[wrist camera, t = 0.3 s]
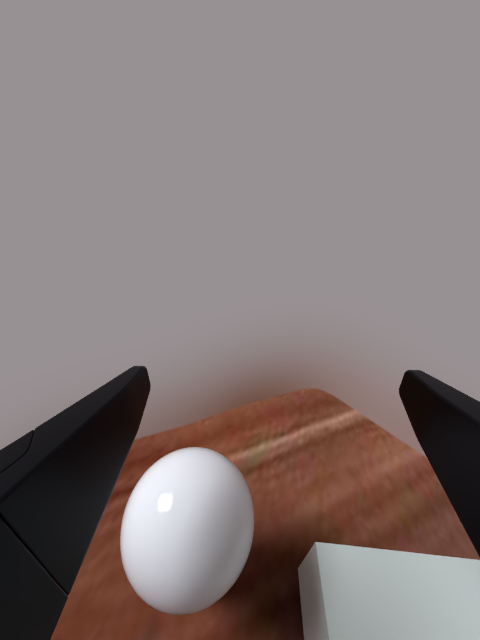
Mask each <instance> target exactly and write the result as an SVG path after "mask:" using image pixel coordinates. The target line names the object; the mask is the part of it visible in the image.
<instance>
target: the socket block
mask: <svg viewBox="0 0 480 640" xmlns="http://www.w3.org/2000/svg"><path fill="white" fill-rule="evenodd" d="M298 576H299V587H300V598H301V610H302V621H303V632H304V640H480V560H473V559H464V558H455V557H446V556H437V555H428V554H420V553H411V552H402V551H393V550H384V549H375V548H366V547H357V546H348V545H339V544H330V543H321V542H315V543H314V545H313V546H312V548H311V549H310V551H309V552H308V554H307V555H306V557H305V558H304V560H303V561H302V563H301V565H300V566H299V568H298Z"/></svg>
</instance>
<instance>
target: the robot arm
mask: <svg viewBox="0 0 480 640" xmlns="http://www.w3.org/2000/svg"><path fill="white" fill-rule="evenodd" d="M149 392H150V380H149V376H148V372H147V369H146V367H145V366H133V367H132V368H130V369H128V370H127V371H125V372H124V373H122V374H120V375H119V376H117V377H116V378H114V379H113V380H111V381H109V382H108V383H106V384H105V385H103V386H101V387H100V388H99V389H97V390H95V391H94V392H92V393H90V394H89V395H87V396H86V397H84V398H83V399H81V400H80V401H78V402H76V403H75V404H73V405H71V406H70V407H68V408H67V409H65V410H64V411H62V412H60V413H59V414H57V415H56V416H54V417H53V418H51V419H49V420H48V421H46V422H45V423H43V424H41V425H40V426H38V427H37V428H36V429H35V431H34V430H32V431H30V432H29V433H27V434H26V435H24V436H22V437H21V438H19V439H18V440H16V441H14V442H13V443H11V444H10V445H8V446H6V447H5V448H3V449H1V450H0V640H50V639H51V636H52V634H53V632H54V629H55V627H56V625H57V622H58V620H59V617H60V615H61V613H62V610H63V608H64V606H65V603H66V601H67V598H68V596H67V595H69V593H70V591H71V588H72V586H73V584H74V581H75V579H76V577H77V574H78V572H79V569H80V567H81V565H82V562H83V560H84V558H85V555H86V553H87V550H88V548H89V546H90V543H91V541H92V539H93V536H94V534H95V531H96V529H97V527H98V524H99V522H100V520H101V517H102V515H103V512H104V510H105V508H106V505H107V503H108V501H109V498H110V496H111V493H112V491H113V489H114V486H115V484H116V481H117V479H118V477H119V474H120V472H121V470H122V467H123V465H124V462H125V460H126V458H127V455H128V453H129V451H130V448H131V446H132V443H133V441H134V439H135V436H136V434H137V431H138V429H139V425H140V422H141V419H142V416H143V412H144V409H145V406H146V402H147V399H148V395H149ZM399 394H400V397H401V400H402V402H403V405H404V407H405V410H406V412H407V415H408V417H409V420H410V422H411V425H412V427H413V430H414V432H415V434H416V437H417V439H418V441H419V443H420V445H421V447H422V449H423V450H424V452H425V454H426V456H427V458H428V460H429V462H430V464H431V466H432V468H433V470H434V471H435V473H436V475H437V477H438V479H439V481H440V483H441V485H442V487H443V489H444V491H445V492H446V494H447V496H448V498H449V500H450V502H451V504H452V506H453V508H454V510H455V511H456V513H457V515H458V517H459V519H460V521H461V523H462V525H463V527H464V529H465V530H466V532H467V534H468V536H469V538H470V540H471V542H472V544H473V546H474V548H475V549H476V551H477V553H478V555H479V557H480V402H479V401H477V400H475V399H473V398H471V397H469V396H468V395H466V394H464V393H462V392H460V391H458V390H456V389H454V388H453V387H451V386H449V385H447V384H445V383H443V382H441V381H439V380H438V379H436V378H434V377H432V376H430V375H428V374H426V373H425V372H423V371H420V370H407V371H406V372H405V373H404V376H403V379H402V382H401V385H400V388H399Z"/></svg>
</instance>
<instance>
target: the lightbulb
mask: <svg viewBox="0 0 480 640" xmlns="http://www.w3.org/2000/svg"><path fill="white" fill-rule="evenodd" d="M253 534H254V508H253V502H252V498H251V494H250V491H249V488H248V485H247V483H246V481H245V479H244V477H243V475H242V474H241V472H240V471H239V470H238V468H237V467H236V466H235V465H234V464H233V463H232V462H231V461H230V460H229V459H228V458H226V457H225V456H223V455H222V454H220V453H218V452H216V451H214V450H211V449H207V448H201V447H190V448H183V449H180V450H176V451H174V452H171V453H169V454H167V455H166V456H164V457H162V458H161V459H159V460H158V461H157V462H155V463H154V464H153V465H152V466H151V467H150V468H149V469H148V470H147V471H146V472H145V473H144V475H143V476H142V477H141V478H140V480H139V481H138V483H137V484H136V486H135V488H134V489H133V491H132V493H131V495H130V498H129V500H128V502H127V505H126V508H125V511H124V515H123V519H122V525H121V534H120V549H121V558H122V563H123V567H124V570H125V573H126V576H127V578H128V580H129V582H130V584H131V586H132V588H133V589H134V591H135V592H136V593H137V595H138V596H139V597H140V598H141V599H142V600H143V601H144V602H145V603H147V604H148V605H149V606H151V607H152V608H154V609H156V610H158V611H160V612H163V613H167V614H172V615H187V614H192V613H196V612H199V611H201V610H204V609H206V608H208V607H209V606H211V605H213V604H214V603H215V602H217V601H218V600H219V599H220V598H222V597H223V596H224V595H225V594H226V593H227V592H228V591H229V590H230V588H231V587H232V586H233V585H234V583H235V582H236V580H237V579H238V577H239V576H240V574H241V572H242V570H243V568H244V566H245V564H246V561H247V559H248V556H249V553H250V549H251V545H252V540H253Z"/></svg>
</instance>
